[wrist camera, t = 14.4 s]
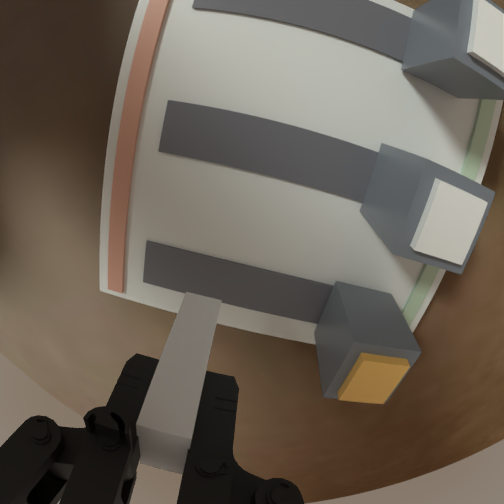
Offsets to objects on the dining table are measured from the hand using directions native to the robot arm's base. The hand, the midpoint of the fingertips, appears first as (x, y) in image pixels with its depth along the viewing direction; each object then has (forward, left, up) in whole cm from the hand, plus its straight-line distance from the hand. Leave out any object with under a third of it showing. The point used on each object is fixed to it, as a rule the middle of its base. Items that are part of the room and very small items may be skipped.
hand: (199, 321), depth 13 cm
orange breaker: (+8, 0, -4) cm, 9 cm away
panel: (+3, +7, -6) cm, 10 cm away
